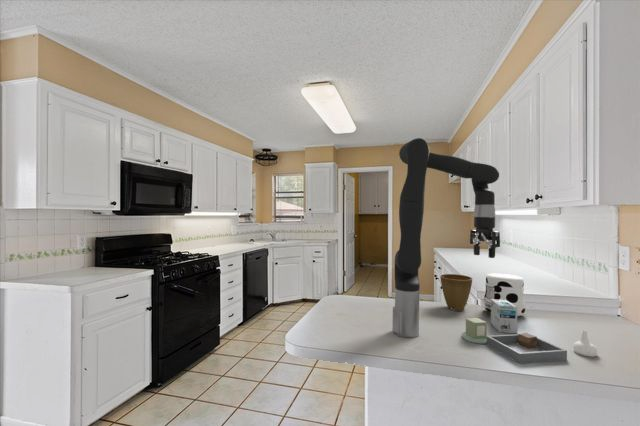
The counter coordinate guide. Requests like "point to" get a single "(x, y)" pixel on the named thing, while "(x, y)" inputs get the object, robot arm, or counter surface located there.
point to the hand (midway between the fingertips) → (483, 256)
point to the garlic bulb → (585, 346)
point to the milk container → (505, 291)
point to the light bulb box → (504, 316)
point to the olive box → (476, 328)
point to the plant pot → (456, 290)
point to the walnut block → (527, 340)
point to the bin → (526, 357)
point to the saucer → (470, 339)
